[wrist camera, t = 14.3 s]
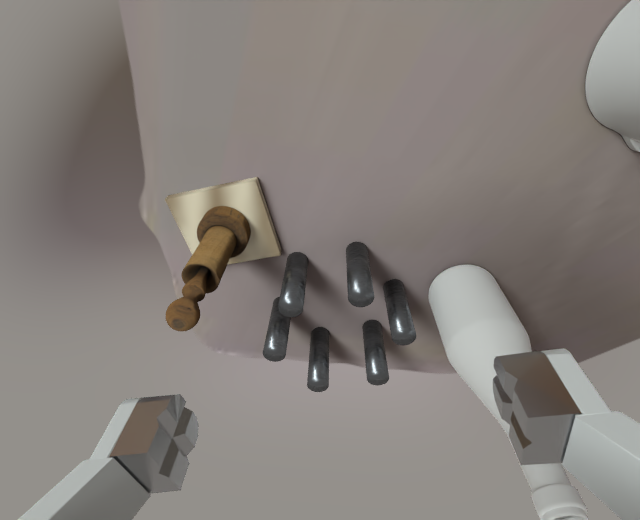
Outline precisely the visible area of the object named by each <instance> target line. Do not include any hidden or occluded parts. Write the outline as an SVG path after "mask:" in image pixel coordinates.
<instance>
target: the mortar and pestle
mask: <svg viewBox="0 0 640 520" xmlns="http://www.w3.org/2000/svg"><path fill="white" fill-rule="evenodd" d="M250 235H251V229H250V225H249V222H248V220H247V219H246V217H245V216H244V215H243V214H242V213H241V212H239V211H238V210H236V209H234V208H231V207H228V206H217V207H213V208H211V209H210V210H208V211H207V212H206V213H205V215H204V216H203V218H202V220H201V221H200V223H199V225H198V227H197V238H198V241H199V245H198V247H197V248H196V250H195V252H194V253H193V255H192V257H191V258H190V260H189V261H188V263H187V264H186V266H185V268H184V269H183V271H182V279H183V281H184V283H185V284H186V285H185V286H184V287H183V289H182V294H183V296H184V297H182V298H180V299H177V300H175V301H174V302H172V303H171V304H170V305H169V307H168V309H167V311H166V321H167V323H168V325H169V326H170V327H171V328H172V329H174V330H177V331H187V330H189V329H191V328H193V327H194V326H195V325H196V324H197V322H198V321H199V318H200V309H199V306H198V303H197V302H198V301H201V300H203V299H204V297H205V293H210V292H213V291H214V290H216V289H217V287H218V285H219V283H220V280H221V278H222V275H223V273H224V271H225V268H226V266H227V264H228V262H229V259H230V258H233V257H236V256H238V255H240V254H241V253H242V252H243V251H244V250H245V248H246V246H247V244H248V241H249V239H250Z"/></svg>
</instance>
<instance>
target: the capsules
mask: <svg viewBox="0 0 640 520" xmlns="http://www.w3.org/2000/svg"><path fill="white" fill-rule="evenodd" d="M346 263H347V283H348V300H349V302H350V303H351V304H352V305H354V306H356V307H365V306H368V305H370V304H371V303H372V302H373V300H374V292H373V285H372V278H371V270H370V263H369V256H368V249H367V247H366V245H365V244H363V243H361V242H353V243H351V244H349V245H348V247H347V248H346ZM307 268H308V258H307V257H306V255H304V254H303V253H300V252H294V253H292V254H290V255H289V256H288V258H287V263H286V268H285V273H284V279H283V284H282V289H281V294H280V297H278V298H276V299H275V300H274V302H273V307H272V312H271V316H270V321H269V326H268V331H267V335H266V340H265V345H264V350H263V355H264V357H265V358H266V359H268V360H270V361H281V360H283V359H284V358H285V355H286V348H287V341H288V334H289V327H290V320H291V317H296V316H298V315H300V314H301V313H302V311H303V306H304V296H305V287H306V277H307ZM383 290H384V296H385V302H386V307H387V313H388V319H389V324H390V330H391V336H392V340H393V342H394V343H396V344H398V345H408V344H410V343H412V342H413V341H414V340H415V339H416V332H415V328H414V325H413V321H412V317H411V313H410V309H409V305H408V301H407V297H406V293H405V289H404V285H403V283H402V282H401V281H400V280H397V279H392V280H389V281H387V282H386V283H385V284H384V286H383ZM362 328H363V339H364V350H365V362H366V373H367V380H368V382H369V383H371V384H373V385H382V384H385V383H386V382H387V381H388V380H389V375H388V368H387V361H386V355H385V348H384V341H383V334H382V328H381V324H380V323H379V322H378V321H376V320H369V321H366V322H365V323H364V324H363V326H362ZM308 369H309V370H308V383H307V385H308V388H309V389H310V390H312V391H315V392H322V391H325V390H326V389H327V388H328V385H329V331H328V330H327V329H325V328H322V327H318V328H315V329H313V330H312V332H311V341H310V354H309V368H308Z"/></svg>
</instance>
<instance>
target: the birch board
mask: <svg viewBox="0 0 640 520" xmlns="http://www.w3.org/2000/svg"><path fill="white" fill-rule="evenodd" d="M165 200H166V202H167V204H168V206H169V208H170V210H171V212H172V215H173V217H174V219H175V221H176V223H177V225H178V227H179V229H180V231H181V233H182V235H183V237H184V239H185V241H186V243H187V245H188V247H189V249H190V251H191V253H192V255H193V253H194V252H195V250H196V248H197V247H198V245H199V241H198V238H197V227H198V225H199V223H200V221H201V220H202V218H203V216H204V215H205V213H206V212H207V211H208V210H210V209H211V208H213V207H217V206H228V207H231V208H234V209H236V210H238V211H239V212H241V213H242V214H243V215H244V216H245V217H246V219H247V220H248V222H249V225H250V229H251V235H250V239H249V241H248V244H247V246H246V248H245V250H244V251H243V252H242V253H241V254H240V255H238V256H236V257H233V258H230V259H229V262H228V264H233V263H239V262H245V261H251V260H256V259H262V258H268V257H274V256H280V255H281V252H282V250H281V247H280V244H279V241H278V238H277V235H276V232H275V229H274V226H273V223H272V220H271V217H270V214H269V211H268V208H267V205H266V202H265V199H264V196H263V193H262V190H261V187H260V184H259V181H258V178H257V177H255V178H250V179H245V180H241V181H236V182H231V183H226V184H221V185H216V186H212V187H207V188H202V189H197V190H192V191H188V192H183V193H178V194H173V195H169V196H168V197H167V198H166V199H165Z"/></svg>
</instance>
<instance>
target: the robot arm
mask: <svg viewBox="0 0 640 520" xmlns="http://www.w3.org/2000/svg"><path fill="white" fill-rule="evenodd" d="M585 89H586V98H587V103H588V106H589V108H590V110H591V112H592V114H593V115H594V117H595V118H596V119H597V120H598V121H599V122H600V123H601V124H603V125H604V126H606V127H608V128H610V129H612V130H614V131H616V132H618V133H619V134H621V135H622V137H623V139H624V140H625V142H626V144H627V145H628V147H629V148H630V149H632V150H634V151H637V152H640V0H631V1H630V2H629V3H628V4H627V5H626V6H625V7H624V8H623V9H622V10H621V11H620V12H619V14H618V15H617V16H616V17H615V18H614V19H613V21H612V22H611V23H610V25H609V26H608V27H607V29H606V30H605V32H604V33H603V35H602V37H601V38H600V40H599V42H598V44H597V46H596V48H595V50H594V52H593V55H592V57H591V60H590V63H589V66H588V70H587V75H586V86H585ZM494 369H495V371H496V374H497V375H496V376H495V377H494V378H493V393H494V399H495V402H496V405H497V408H498V411H499V413H500V416H501V418H502V419H503V420H504V421H506V422H507V423H508V424H509V425H510V430H509V438H510V440H511V443H512V445H513V447H514V450H515V452H516V455H517V457H518V459H519V462H520V464H521V465H533V464H554V463H562V466H563V467H564V468H565V469H567V470H568V471H569V472H570V473H571V474H572V475H573V476H574V477H575V478H576V479H578V480H579V481H580V482H581V483H582V484H583V485H584V486H585V487H586V488H587V489H589V490H590V491H591V492H592V493H593V494H594V495H595V496H596V497H597V498H599V500H601V501H602V502H603V503H604V504H605V505H606V506H607V507H608V508H609V509H610V510H612V511H613V512H614V513H615V514H616V515H617V516H618V517H619V518H620V519H622V520H640V424H639V423H638V422H637V421H635V420H633V419H632V418H630V417H628V416H627V415H625V414H624V413H622V412H620V411H611V410H610V408H609V407H608V406H607V404H606V403H605V401H604V400H603V398H602V397H601V396H600V394H599V393H598V391H597V390H596V389H595V387H594V386H593V384H592V383H591V381H590V380H589V379H588V377H587V376H586V374H585V373H584V371H583V370H582V369H581V367H580V366H579V364H578V363H577V362H576V360H575V359H574V357H573V356H572V354H571V353H570V352H569V351H568V350H566V349H565V348H563V349H554V350H546V351H534V352H526V353H518V354H511V355H503V356H496V357H495V359H494ZM185 403H186V401H185V400H184V398H183V397H182V396H181V395H180V394H178V395H167V396H156V397H144V398H135V399H126V400H125V401H124V402H122V403H121V404H120V406H119V407H118V409H117V411H116V413H115V414H114V416H113V418H112V420H111V422H110V423H109V425H108V427H107V429H106V431H105V433H104V434H103V436H102V438H101V440H100V441H99V443H98V445H97V447H96V449H95V450H94V453H93V454H92V456H91V458H90V459H88V460H84V461H83V462H82V463H80V464H79V465H78V466H77V467H76V468H75V469H74V470H73V471H71V473H69V474H68V475H67V476H66V477H65V478H64V479H63V480H61V481H60V482H59V483H58V484H57V485H56V486H55V487H54V488H53V489H51V490H50V491H49V492H48V493H47V494H46V495H45V496H44V497H43V498H41V499H40V500H39V501H38V502H37V503H36V504H35V505H34V506H32V507H31V508H30V509H29V510H28V511H27V512H26V513H25V514H24V515H22V516H21V517H20V518H19V519H18V520H132V519H133V518H134V516H135V515H136V514H137V512H138V511H139V510H140V508H141V507H142V506H143V505H144V503H145V502H146V501H147V500H148V498H149V497H150V493H159V492H168V491H178V490H181V487H182V484H183V481H184V477H185V475H186V472H187V469H188V465H189V462H188V459H187V455H188V454H189V452H190V451H191V450H192V449H193V448H194V447H195V444H196V441H197V437H198V422H197V418H196V416H195V414H194V413H193V411H191V410H189V409H187V408H185V407H184V406H185Z"/></svg>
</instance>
